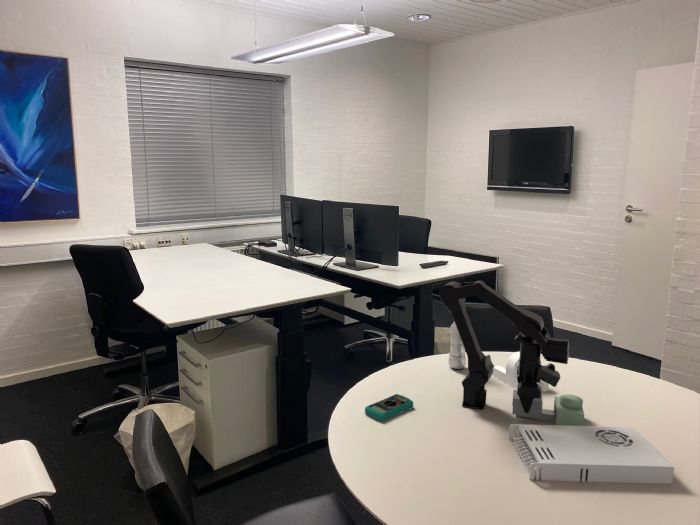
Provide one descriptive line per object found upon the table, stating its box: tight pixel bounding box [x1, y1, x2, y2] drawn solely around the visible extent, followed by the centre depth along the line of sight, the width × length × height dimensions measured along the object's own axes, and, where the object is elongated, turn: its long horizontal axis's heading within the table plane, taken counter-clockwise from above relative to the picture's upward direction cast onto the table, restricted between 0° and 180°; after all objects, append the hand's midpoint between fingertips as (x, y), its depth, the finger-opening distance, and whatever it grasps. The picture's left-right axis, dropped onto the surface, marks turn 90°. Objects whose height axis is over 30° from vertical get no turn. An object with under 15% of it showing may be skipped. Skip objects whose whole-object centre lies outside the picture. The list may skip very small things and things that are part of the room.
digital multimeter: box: [364, 393, 414, 422], centre depth 155 cm, size 7×15×3 cm, turn 132°
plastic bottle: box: [447, 320, 467, 370], centre depth 188 cm, size 6×7×20 cm
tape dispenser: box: [491, 351, 550, 393], centre depth 176 cm, size 10×18×11 cm, turn 25°
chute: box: [511, 389, 543, 418], centre depth 152 cm, size 8×6×5 cm
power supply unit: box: [508, 423, 675, 485], centre depth 129 cm, size 19×33×5 cm, turn 88°
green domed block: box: [515, 393, 585, 426], centre depth 150 cm, size 18×10×7 cm, turn 73°
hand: (526, 407), depth 152 cm, fingers closed on chute, 6 cm apart
